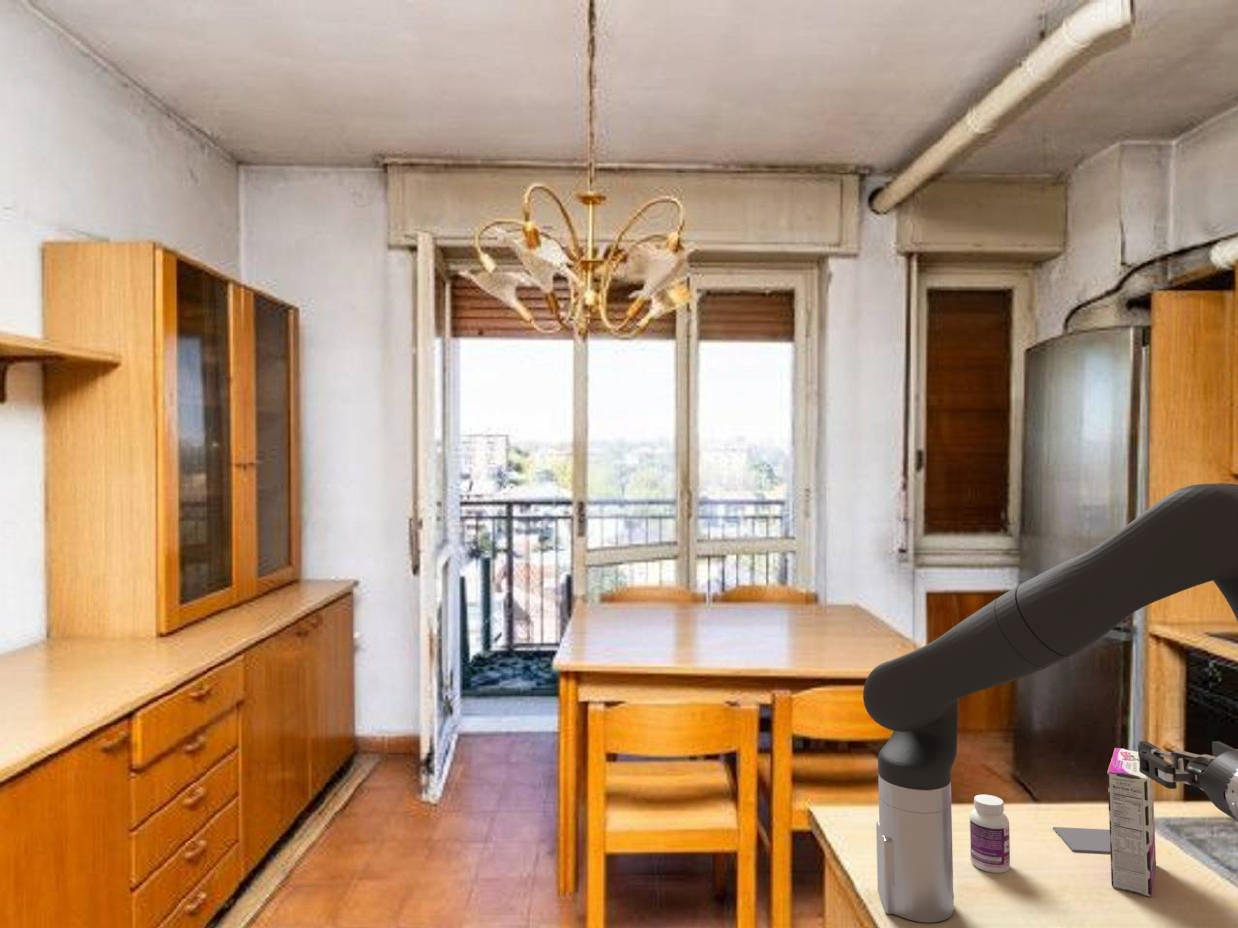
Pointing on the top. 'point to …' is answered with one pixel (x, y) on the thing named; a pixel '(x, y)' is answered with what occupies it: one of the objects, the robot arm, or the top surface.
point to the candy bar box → (1131, 824)
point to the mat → (1085, 839)
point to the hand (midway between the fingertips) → (1178, 748)
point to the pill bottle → (989, 835)
